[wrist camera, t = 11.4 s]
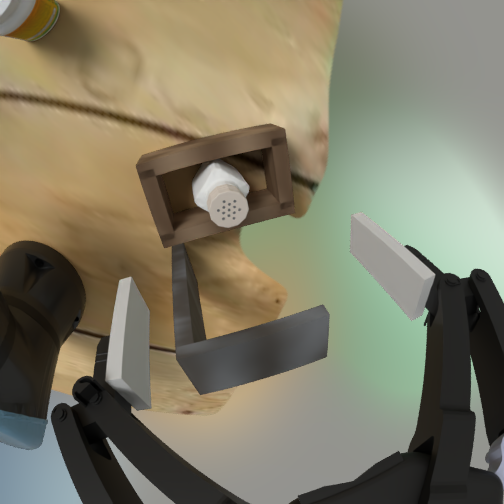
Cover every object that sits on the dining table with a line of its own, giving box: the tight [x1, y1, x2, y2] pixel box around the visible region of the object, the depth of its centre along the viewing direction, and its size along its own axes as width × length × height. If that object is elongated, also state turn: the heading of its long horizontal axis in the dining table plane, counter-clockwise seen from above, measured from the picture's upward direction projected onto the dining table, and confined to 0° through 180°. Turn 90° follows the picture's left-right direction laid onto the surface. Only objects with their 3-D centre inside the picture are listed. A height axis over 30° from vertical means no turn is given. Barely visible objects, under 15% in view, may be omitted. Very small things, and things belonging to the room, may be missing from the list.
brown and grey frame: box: [136, 124, 329, 395], centre depth 25 cm, size 14×18×17 cm
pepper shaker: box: [192, 158, 249, 228], centre depth 26 cm, size 4×4×10 cm
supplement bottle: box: [0, 0, 60, 41], centre depth 10 cm, size 5×5×10 cm
